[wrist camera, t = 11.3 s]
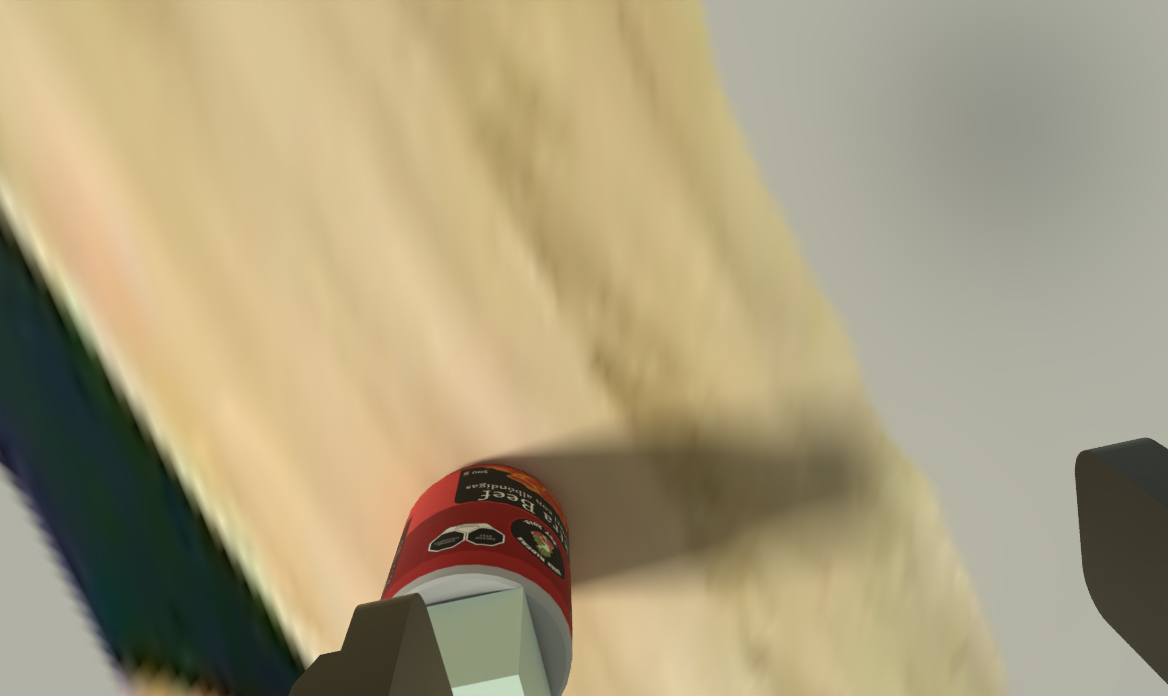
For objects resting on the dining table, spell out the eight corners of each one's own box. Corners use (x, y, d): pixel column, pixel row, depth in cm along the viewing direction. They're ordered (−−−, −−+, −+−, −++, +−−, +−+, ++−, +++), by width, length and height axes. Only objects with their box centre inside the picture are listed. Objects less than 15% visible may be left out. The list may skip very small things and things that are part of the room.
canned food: (601, 530, 49) (614, 660, 38) (486, 633, 50) (468, 787, 39) (488, 425, 47) (469, 531, 36) (372, 534, 48) (321, 667, 38)
